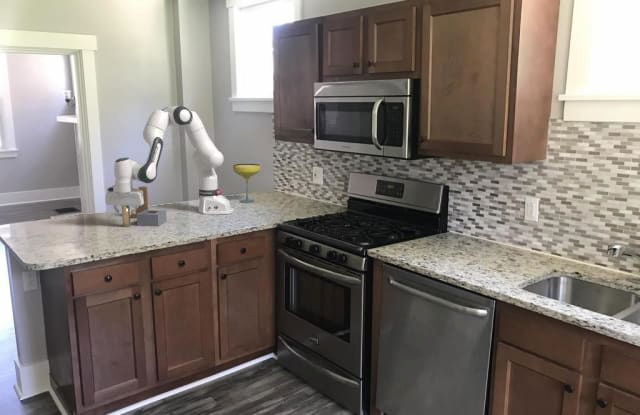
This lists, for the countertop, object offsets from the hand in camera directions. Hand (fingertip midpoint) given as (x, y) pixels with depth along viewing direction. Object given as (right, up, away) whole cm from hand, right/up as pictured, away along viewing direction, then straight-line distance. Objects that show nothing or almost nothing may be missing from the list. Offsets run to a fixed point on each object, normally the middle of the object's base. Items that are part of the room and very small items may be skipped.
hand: (125, 213), depth 284 cm
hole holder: (+12, -6, +8) cm, 16 cm away
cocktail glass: (+56, +7, +75) cm, 93 cm away
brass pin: (0, -7, +2) cm, 7 cm away
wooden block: (0, -3, +23) cm, 23 cm away
